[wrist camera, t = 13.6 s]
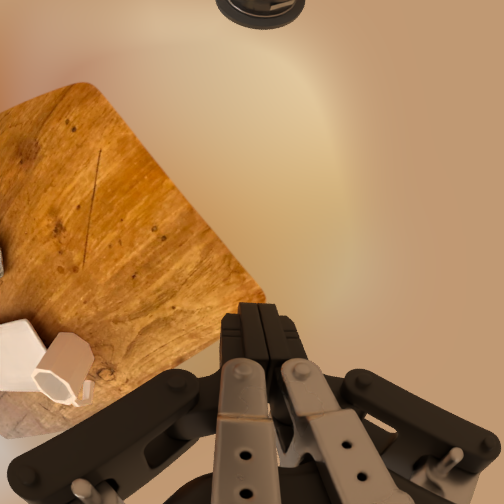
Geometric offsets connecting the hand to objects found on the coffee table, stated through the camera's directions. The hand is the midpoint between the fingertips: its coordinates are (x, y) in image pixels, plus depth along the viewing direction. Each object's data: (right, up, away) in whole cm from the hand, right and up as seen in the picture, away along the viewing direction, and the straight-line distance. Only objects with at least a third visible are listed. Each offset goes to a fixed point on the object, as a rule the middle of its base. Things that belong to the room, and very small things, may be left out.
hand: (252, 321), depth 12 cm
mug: (-31, -16, +30) cm, 45 cm away
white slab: (-50, -18, +28) cm, 60 cm away
